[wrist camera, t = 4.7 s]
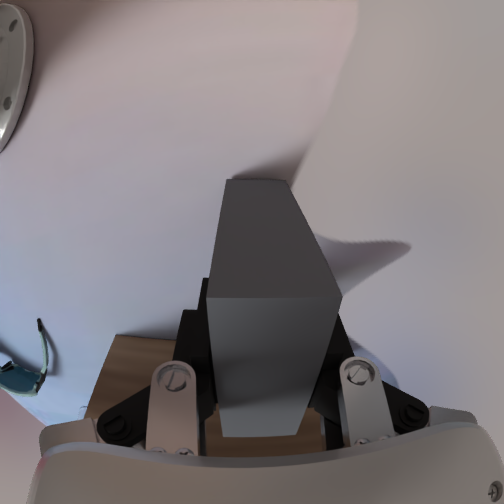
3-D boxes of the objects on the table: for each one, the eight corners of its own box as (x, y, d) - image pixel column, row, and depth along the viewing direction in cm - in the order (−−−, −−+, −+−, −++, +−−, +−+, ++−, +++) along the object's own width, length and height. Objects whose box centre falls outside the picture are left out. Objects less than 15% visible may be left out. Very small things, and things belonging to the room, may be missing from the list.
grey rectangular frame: (226, 179, 14) (206, 297, 6) (285, 180, 14) (342, 296, 6) (228, 297, 18) (223, 436, 10) (275, 297, 18) (295, 434, 10)
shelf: (115, 334, 20) (61, 496, 8) (344, 339, 20) (394, 509, 8) (165, 436, 30) (153, 528, 17) (303, 438, 30) (315, 532, 18)
